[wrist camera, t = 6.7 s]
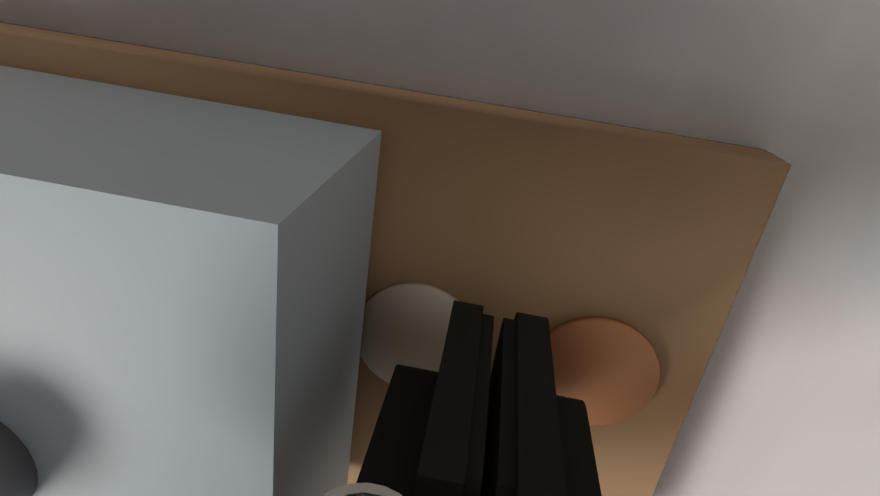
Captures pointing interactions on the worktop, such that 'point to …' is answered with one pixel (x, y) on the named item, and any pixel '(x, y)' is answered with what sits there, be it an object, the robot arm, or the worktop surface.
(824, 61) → the worktop surface
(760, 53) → the worktop surface
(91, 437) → the cover
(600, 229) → the pattern board
